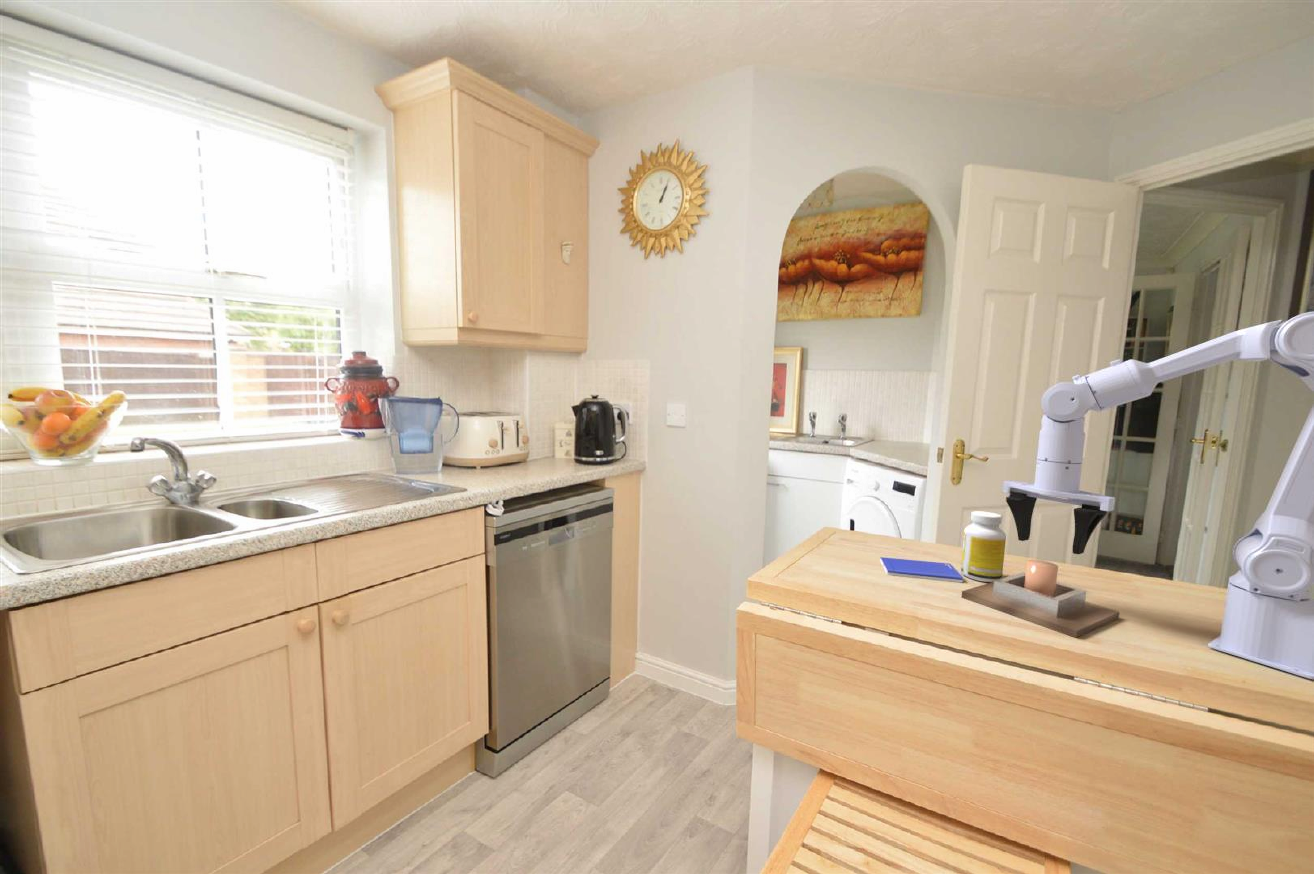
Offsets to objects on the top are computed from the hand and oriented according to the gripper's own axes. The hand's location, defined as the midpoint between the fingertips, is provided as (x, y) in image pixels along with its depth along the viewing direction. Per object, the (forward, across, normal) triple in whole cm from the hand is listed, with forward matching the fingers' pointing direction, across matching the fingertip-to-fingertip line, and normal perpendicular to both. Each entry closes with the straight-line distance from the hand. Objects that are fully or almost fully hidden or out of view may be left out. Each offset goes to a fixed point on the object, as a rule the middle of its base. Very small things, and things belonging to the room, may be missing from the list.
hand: (1049, 546), depth 87 cm
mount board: (+9, 0, +3) cm, 10 cm away
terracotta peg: (+8, 0, +3) cm, 9 cm away
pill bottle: (+10, +12, -3) cm, 16 cm away
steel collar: (+9, 0, +3) cm, 10 cm away
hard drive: (+10, +19, +4) cm, 22 cm away
